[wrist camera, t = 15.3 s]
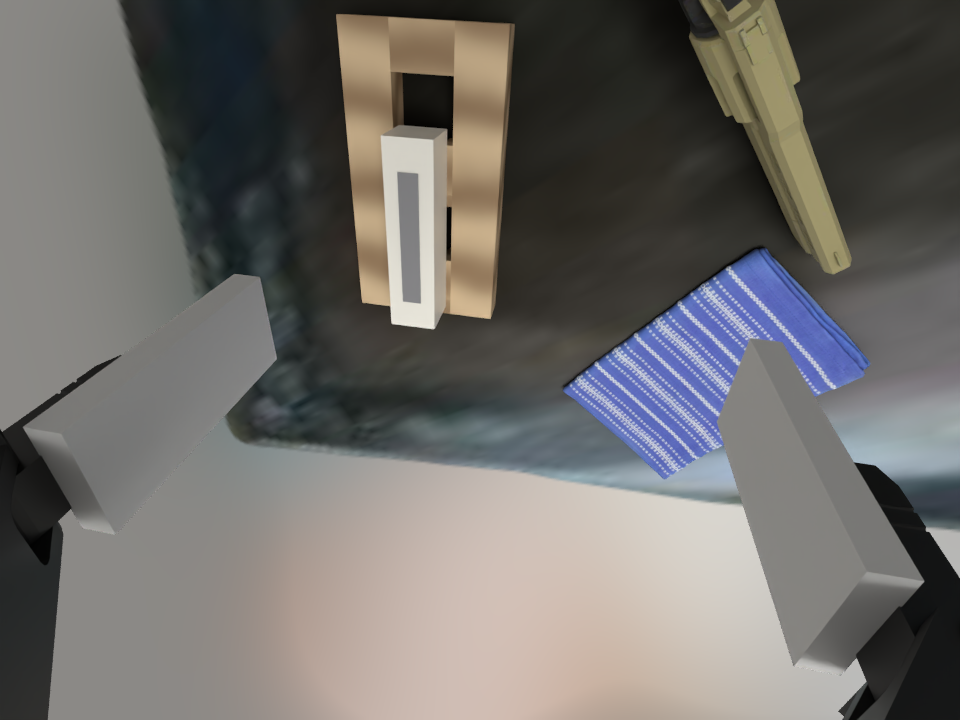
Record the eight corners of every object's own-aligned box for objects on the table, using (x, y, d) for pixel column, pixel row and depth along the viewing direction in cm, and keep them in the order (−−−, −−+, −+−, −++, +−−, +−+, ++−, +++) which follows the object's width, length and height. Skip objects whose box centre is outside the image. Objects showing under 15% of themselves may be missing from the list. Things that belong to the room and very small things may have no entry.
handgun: (633, -209, 31) (743, -185, 20) (782, 152, 49) (880, 263, 39) (572, -143, 33) (642, -90, 22) (737, 180, 51) (818, 294, 41)
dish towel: (868, 358, 50) (882, 375, 47) (662, 470, 62) (665, 488, 59) (760, 235, 45) (770, 247, 43) (561, 382, 57) (560, 398, 55)
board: (351, 14, 41) (336, 14, 38) (514, 23, 39) (509, 24, 37) (372, 289, 54) (362, 302, 52) (495, 304, 53) (490, 318, 50)
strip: (408, 120, 44) (380, 135, 38) (454, 123, 43) (432, 140, 38) (413, 290, 53) (391, 324, 47) (451, 295, 52) (434, 330, 47)
